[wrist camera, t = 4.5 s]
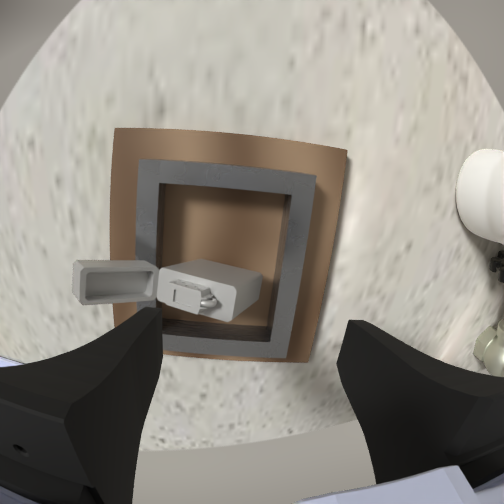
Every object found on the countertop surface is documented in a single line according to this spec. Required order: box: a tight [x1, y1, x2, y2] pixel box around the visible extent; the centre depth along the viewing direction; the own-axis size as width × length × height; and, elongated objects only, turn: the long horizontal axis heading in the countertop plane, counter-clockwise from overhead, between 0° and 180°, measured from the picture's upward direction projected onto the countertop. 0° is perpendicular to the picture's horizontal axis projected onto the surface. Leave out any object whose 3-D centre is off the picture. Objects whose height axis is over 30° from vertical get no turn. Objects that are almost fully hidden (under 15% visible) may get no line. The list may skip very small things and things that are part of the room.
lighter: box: [72, 259, 263, 322], centre depth 16 cm, size 7×2×8 cm, turn 84°
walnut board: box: [110, 128, 347, 362], centre depth 20 cm, size 14×15×1 cm
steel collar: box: [135, 159, 317, 358], centre depth 19 cm, size 9×11×2 cm
